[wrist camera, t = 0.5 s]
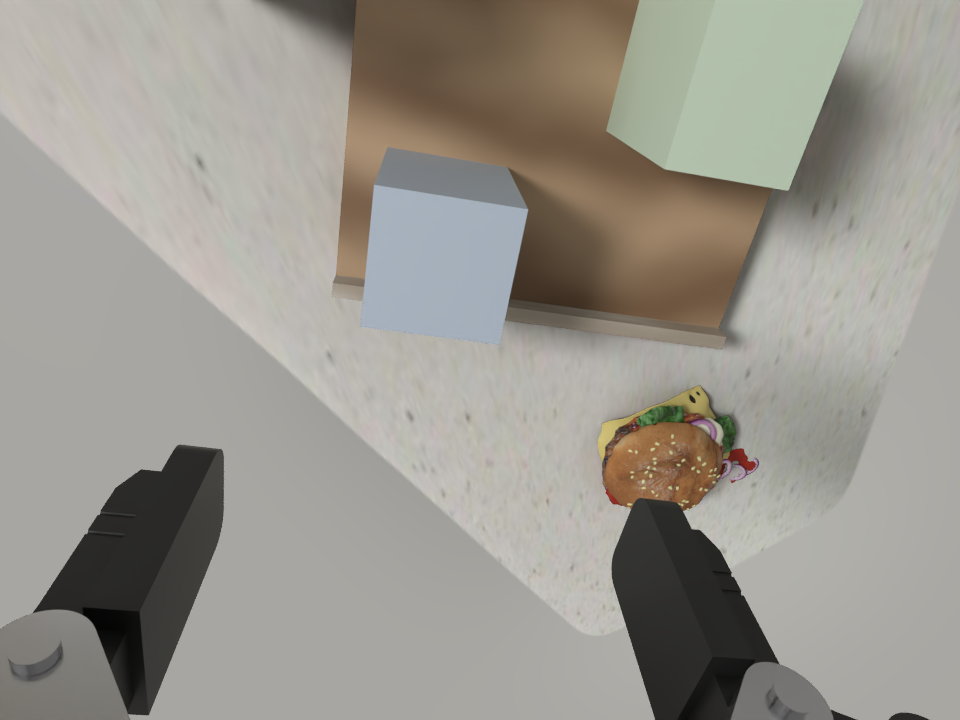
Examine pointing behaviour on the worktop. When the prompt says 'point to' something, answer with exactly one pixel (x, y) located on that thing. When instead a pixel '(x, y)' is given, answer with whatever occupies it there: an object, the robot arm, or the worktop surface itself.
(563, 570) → the worktop surface
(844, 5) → the tea box
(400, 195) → the box
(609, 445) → the hamburger
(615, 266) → the wooden slab
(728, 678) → the robot arm
